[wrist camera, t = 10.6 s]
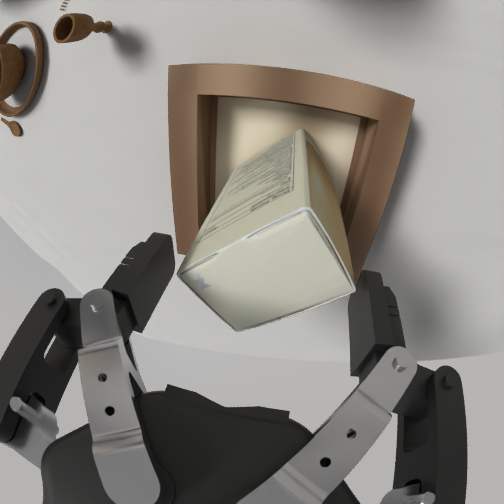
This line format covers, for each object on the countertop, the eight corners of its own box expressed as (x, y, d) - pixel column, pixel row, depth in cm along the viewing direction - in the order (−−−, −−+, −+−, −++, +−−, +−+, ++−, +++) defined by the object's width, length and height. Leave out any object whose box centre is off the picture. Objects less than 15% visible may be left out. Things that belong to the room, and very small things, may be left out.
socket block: (395, 92, 16) (414, 99, 12) (350, 253, 25) (354, 283, 22) (191, 63, 17) (168, 65, 14) (193, 227, 26) (177, 253, 23)
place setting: (19, -5, 10) (-18, 0, 6) (131, 11, 14) (85, 6, 10) (-8, 115, 21) (-39, 132, 16) (78, 170, 25) (42, 196, 20)
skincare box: (265, 209, 22) (231, 336, 13) (233, 166, 21) (167, 277, 11) (336, 173, 19) (361, 296, 10) (306, 123, 18) (308, 206, 8)
